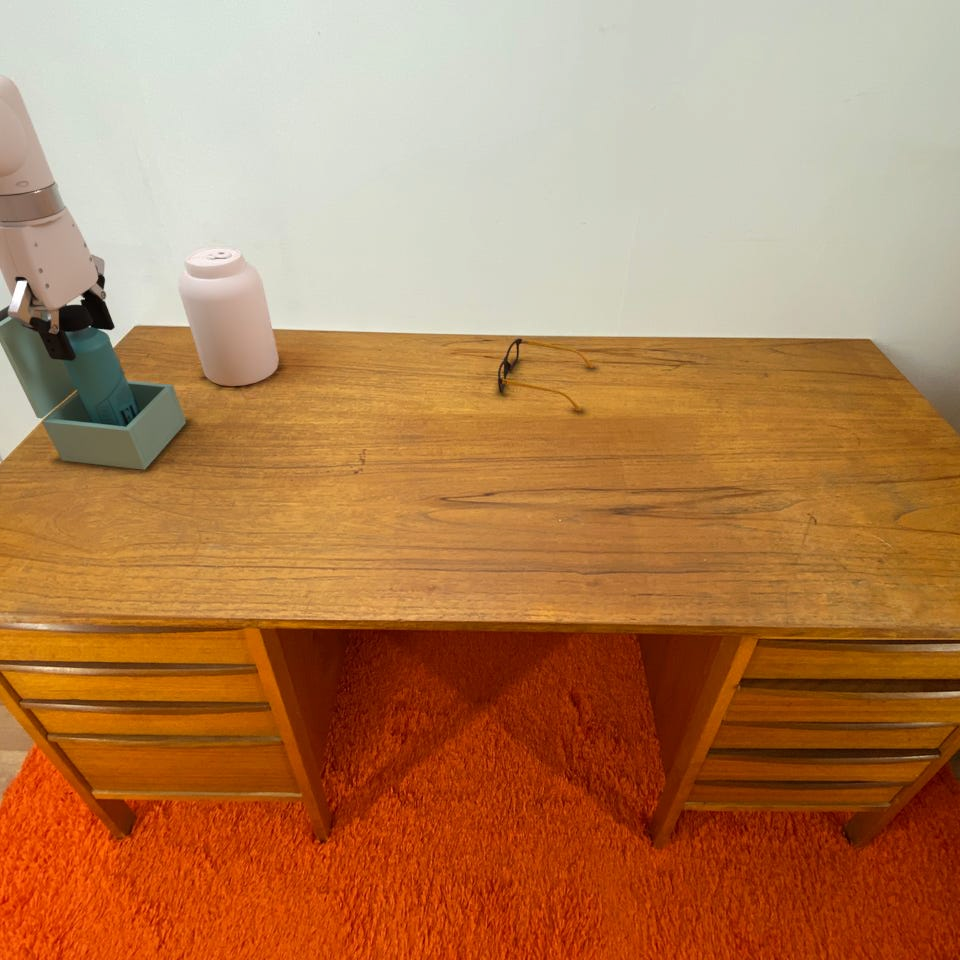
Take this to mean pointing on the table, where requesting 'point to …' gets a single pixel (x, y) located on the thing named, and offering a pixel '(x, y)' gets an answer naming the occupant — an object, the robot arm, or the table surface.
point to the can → (228, 316)
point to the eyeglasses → (503, 381)
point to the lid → (34, 365)
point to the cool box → (118, 429)
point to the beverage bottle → (96, 370)
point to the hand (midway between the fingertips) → (84, 342)
